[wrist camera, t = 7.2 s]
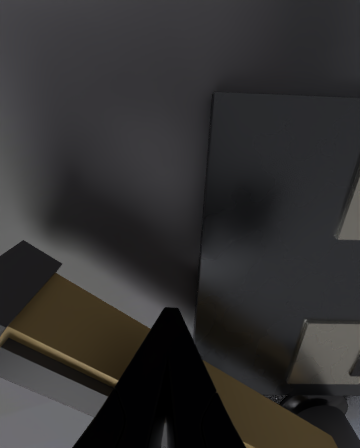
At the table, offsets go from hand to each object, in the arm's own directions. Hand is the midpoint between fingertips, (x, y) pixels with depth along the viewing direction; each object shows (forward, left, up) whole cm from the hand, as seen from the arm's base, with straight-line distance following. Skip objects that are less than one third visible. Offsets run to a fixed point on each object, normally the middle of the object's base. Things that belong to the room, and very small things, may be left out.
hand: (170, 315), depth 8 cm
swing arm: (-6, -3, -2) cm, 7 cm away
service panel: (-3, -10, -3) cm, 11 cm away
